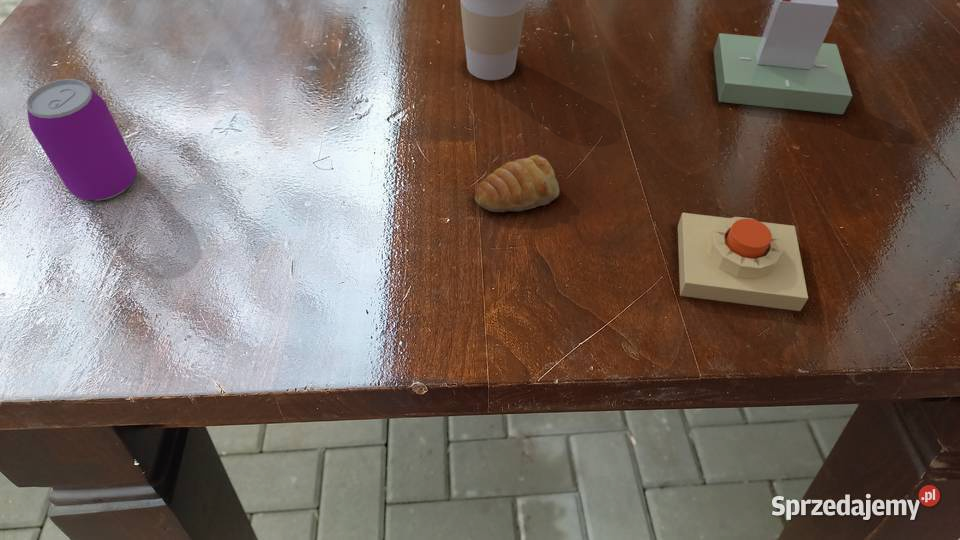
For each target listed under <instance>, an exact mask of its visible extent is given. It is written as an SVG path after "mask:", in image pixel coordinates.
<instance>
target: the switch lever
mask: <svg viewBox="0 0 960 540" xmlns="http://www.w3.org/2000/svg"><path fill="white" fill-rule="evenodd" d="M838 10H839V3H838V0H774V3H773V6H772V9H771V11H770V14H769V17H768V20H767V22H766V24H765V25H766V26H765V28H764V31H763V33H762V36H761V37H762V39H761V42H760V44H759V47H758V50H757V53H756V61H757V64H758V65H769V66H779V67H789V68H799V69H810V70H811V68H812V66H813V64H814V62H815V59H816V57H817V55H818V52H819V50H820V48H821V46H822V43H824V41H825V39H826V36H827V34H828V32H829V29H830V27H831V25H832V23H833V21H834V18H835V17H836V15H837V11H838Z"/></svg>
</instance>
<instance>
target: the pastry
mask: <svg viewBox="0 0 960 540" xmlns="http://www.w3.org/2000/svg"><path fill="white" fill-rule="evenodd" d="M559 196H560V187H559V182H558V180H557V177H556V173H555V170H554V168H553V167H552V165H551V164H550V162H549V161H548V159H546V158H545V157H543V156H541V155H539V154H535V155H531V156H529V157H525V158H524V157H523V158H518V159H515V160H512V161H507V162H505V164H503V165H501V166H500V167H498V168H496V169H494V171H493V172H491V173H490V174H488V176H486V177H485V178H483V179H482V181H481V182H479V183H478V184H477V185H476V189H475V194H474V200H475V202H476V203H477V205H478V206H480V207H481V208H483V209H485V210H486V211H489V212H494V213H506V212H513V213H517V212H523V211H528V210H531V209H535V208H537V207H540V206H542V207H543V206H546V205H549V204H551V202H553V201H554V200H556V199H557V198H558V197H559Z"/></svg>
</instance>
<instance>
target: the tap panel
mask: <svg viewBox="0 0 960 540" xmlns="http://www.w3.org/2000/svg"><path fill="white" fill-rule="evenodd" d="M761 39H762V36H753V35H745V34H744V35H743V34H742V35H741V34H733V33H723V32H722V33H721V32H719V33H718V35H717V38H716V41H715V42H716V43H715V46H714V49H713V57H714V58H713V60H714V69H715V79H716V88H717V97H718V98H717V99H718V102H719V103H725V104H726V103H728V104H737V105H744V106H756V107H765V108H776V109H785V110H793V111H794V110H796V111H803V112H805V111H806V112H814V113H825V114H834V115H844V114H845V112H846V109H847V107H848V106H849V104H850V102H851V101H852V98H853V92H852V90H851V86H850V82H849V79H848V77H847V74H846V73H847V72H846V70H845V67H844V64H843V61H842V58H841V54H840V51H839V48H838V45H837V43H830V42H829V43H827V42H823V43H822V46H821V48H820V50H819V52H818V55H817V57H816V59H815V62H814V64H813V66H812V68H811V70H810V69H799V68H789V67H779V66H769V65H758V64H757V61H756V53H757V50H758V47H759V44H760V42H761Z"/></svg>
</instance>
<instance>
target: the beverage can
mask: <svg viewBox="0 0 960 540" xmlns="http://www.w3.org/2000/svg"><path fill="white" fill-rule="evenodd" d="M25 103H26V108H27V110H26V111H27V119H28V125H29V127H30V130H31V132H32V134H33V135H34V137H35V139H36V140H37V142H38V144H39V145H40V147H41V148H42V150H43V152H44V153H45V155H46V157H47V158H48V160H49V162H50V163H51V165H52V166H53V168H54V170H55V171H56V173H57V174H58V176H59V178H60V179H61V181H62V183H63V184H64V186H65V188H66V189H67V190H68V191H69V192H70V194H72V195H73V196H74V197H76V198H78V199H80V200H84V201H85V200H86V201H95V202H97V201H104V200H105V201H106V200H109V199H112V198H115V197H117V196H119V195H121V194H122V193H124V192H125V191H126V190H128V188H130V186H131V185H132V183H133V182H134V180H135V179H136V177H137V172H138V168H137V166H136V163H135V161H134V158H133V156H132V154H131V152H130V150H129V148H128V145H127V144H126V142H125V140H124V138H123V135H122V134H121V131H120V129H119V128H118V126H117V123H116V122H115V120H114V117H113V115H112V113H111V111H110V109H109V107H108V105H107V103H106V101H105V99H104V98H102V96H100V94H98V93H97V92H96V91H95V90H93V89H92V87H90V85H89V84H88V83H86V82H85V81H82V80H79V79H73V78H63V79H57V80H54V81H50V82H47V83H44V84H42V85H40V86H38V87H37V88H36V89H34V90H33V91H31V93H30V94H29V95H28V96H27V99H26V102H25Z"/></svg>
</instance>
